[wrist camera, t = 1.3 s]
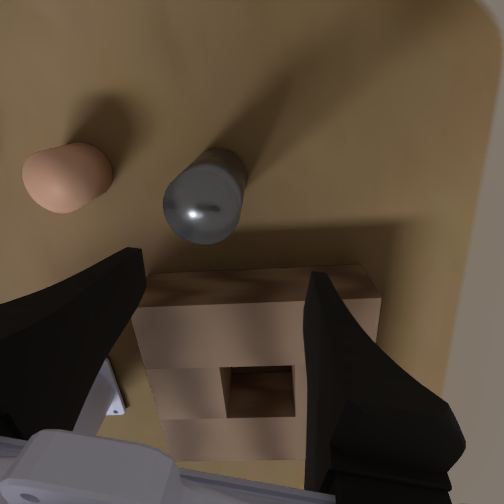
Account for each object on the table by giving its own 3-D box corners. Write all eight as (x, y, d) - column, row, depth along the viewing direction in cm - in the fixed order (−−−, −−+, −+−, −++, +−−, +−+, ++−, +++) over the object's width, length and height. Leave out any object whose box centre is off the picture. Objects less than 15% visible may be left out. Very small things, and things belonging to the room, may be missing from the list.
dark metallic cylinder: (197, 203, 25) (170, 246, 17) (189, 149, 23) (156, 173, 16) (248, 200, 24) (243, 242, 17) (244, 145, 23) (236, 167, 15)
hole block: (182, 415, 35) (171, 461, 31) (149, 273, 27) (127, 308, 23) (347, 411, 34) (360, 458, 30) (361, 264, 27) (381, 297, 22)
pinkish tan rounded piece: (68, 197, 25) (35, 215, 21) (50, 144, 23) (12, 153, 19) (118, 194, 25) (94, 211, 21) (104, 140, 23) (75, 148, 19)
